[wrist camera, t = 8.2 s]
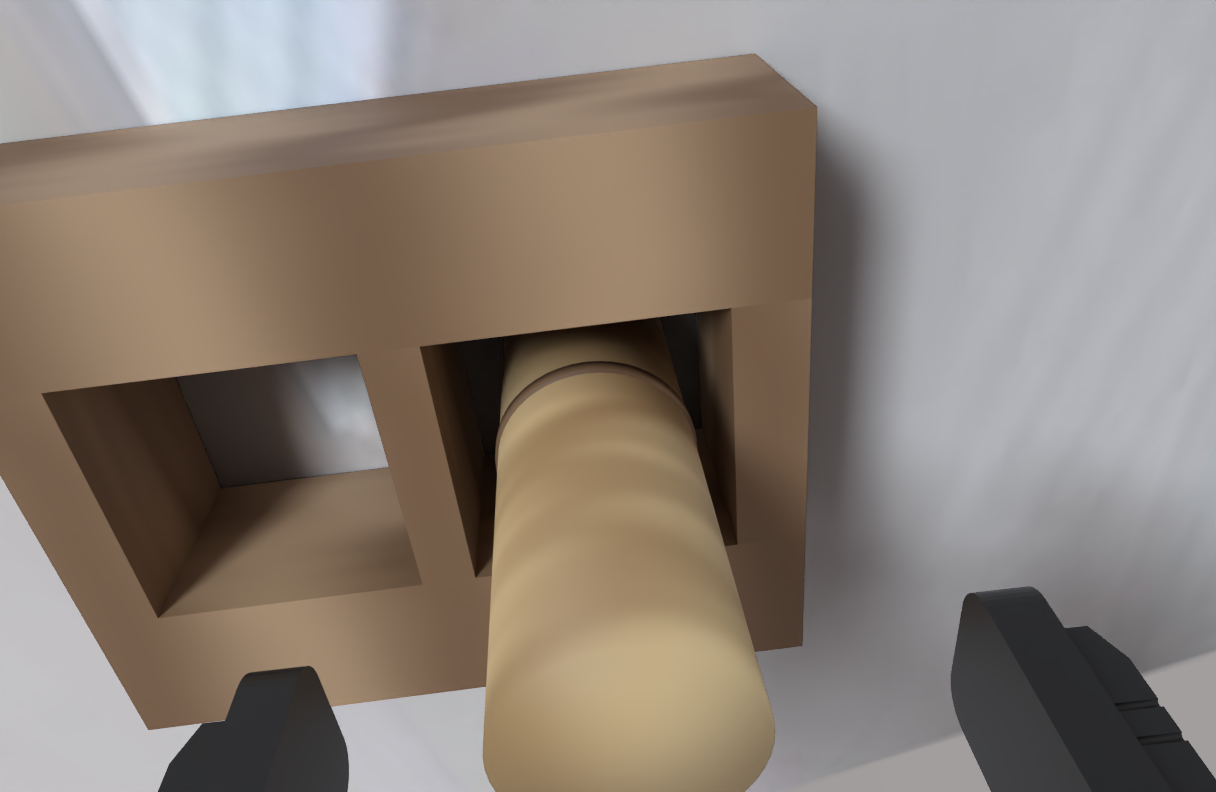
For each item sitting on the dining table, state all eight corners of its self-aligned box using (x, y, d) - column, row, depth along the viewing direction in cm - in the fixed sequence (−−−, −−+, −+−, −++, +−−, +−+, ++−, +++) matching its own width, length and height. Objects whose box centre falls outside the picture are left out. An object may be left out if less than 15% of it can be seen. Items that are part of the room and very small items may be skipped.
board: (755, 53, 16) (817, 107, 12) (759, 522, 22) (802, 645, 18) (0, 143, 16) (-147, 222, 12) (208, 591, 21) (147, 730, 18)
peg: (660, 258, 18) (780, 624, 9) (670, 403, 20) (779, 820, 11) (488, 279, 18) (451, 667, 9) (515, 422, 20) (505, 855, 11)
